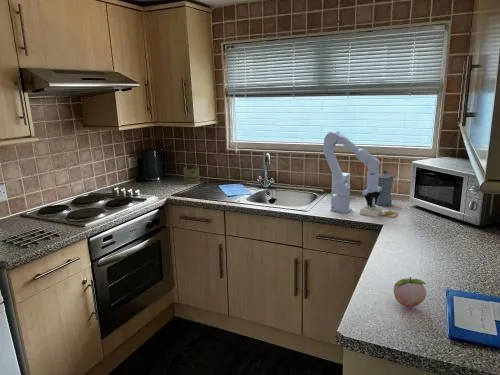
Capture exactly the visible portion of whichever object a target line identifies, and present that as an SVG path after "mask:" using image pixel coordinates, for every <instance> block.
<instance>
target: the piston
mask: <svg viewBox="0 0 500 375" xmlns="http://www.w3.org/2000/svg"><path fill="white" fill-rule="evenodd" d="M200 180H201V177H200V167H198V166H193V168H192V169H188V168H187V166H186V167H183V181H184V185H185V184H198V183H200V184H201V181H200ZM198 185H199V184H198Z"/></svg>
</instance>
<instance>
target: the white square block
mask: <svg viewBox="0 0 500 375" xmlns="http://www.w3.org/2000/svg"><path fill="white" fill-rule="evenodd" d="M342 174H343V176H344V177H345V178H346V180H347V182H348V183H349V184H350V185H351V172H342ZM348 192H349V194H351V189H350V190H349V191H348ZM333 194H336V186H335V179H334V177H333V174H332V173H331V196H332V195H333Z"/></svg>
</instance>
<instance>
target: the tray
mask: <svg viewBox="0 0 500 375" xmlns="http://www.w3.org/2000/svg"><path fill="white" fill-rule="evenodd" d="M375 206H376V210H368V209H367V204H365V205H364V206H362V207H361V208H359V215H362V216H368V217H374V218H378V217H379V216H380V215H381V213H382V212H383V208H384V207H382V206H378V205H375Z"/></svg>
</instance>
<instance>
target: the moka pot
mask: <svg viewBox="0 0 500 375" xmlns="http://www.w3.org/2000/svg"><path fill="white" fill-rule="evenodd" d="M394 177H395V176H394V175H393V174H390V173H388V171H387V170H384V171H383V173H379V180H378V186H379V187H382V190H381V191H379V192H380V195H379V197H378V199H377V202H376V205H375V206H378V207H383V208H384V207H385V208H386V207H391V206H392V204H393V202H392V194H391V192H392V188H393V183H394V182H393V181H394Z"/></svg>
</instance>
